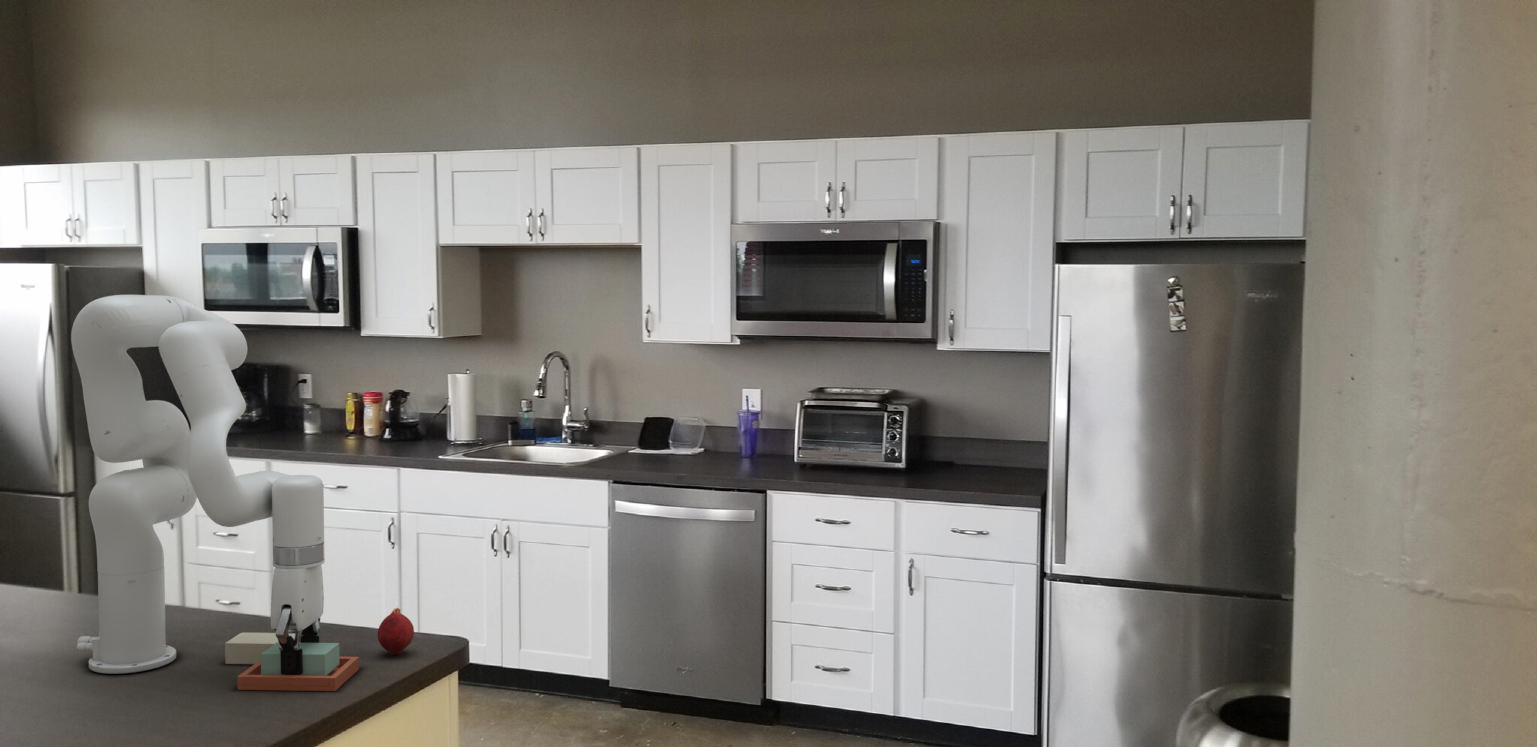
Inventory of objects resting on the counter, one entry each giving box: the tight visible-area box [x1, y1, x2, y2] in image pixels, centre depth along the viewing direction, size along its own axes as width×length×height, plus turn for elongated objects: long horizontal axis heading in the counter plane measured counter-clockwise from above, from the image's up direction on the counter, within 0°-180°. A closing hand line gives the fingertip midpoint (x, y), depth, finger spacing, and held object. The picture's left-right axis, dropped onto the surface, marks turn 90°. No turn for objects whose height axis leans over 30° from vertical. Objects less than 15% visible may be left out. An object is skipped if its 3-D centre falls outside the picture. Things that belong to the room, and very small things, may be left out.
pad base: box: [261, 642, 340, 676], centre depth 182 cm, size 10×6×4 cm, turn 90°
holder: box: [236, 656, 360, 692], centre depth 183 cm, size 15×10×2 cm
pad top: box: [224, 632, 295, 665], centre depth 192 cm, size 10×6×4 cm, turn 90°
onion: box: [376, 607, 415, 656], centre depth 195 cm, size 6×6×8 cm
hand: (300, 666), depth 183 cm, fingers closed on pad base, 6 cm apart
